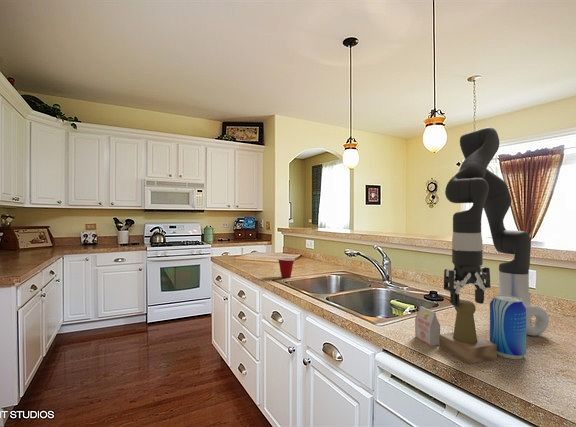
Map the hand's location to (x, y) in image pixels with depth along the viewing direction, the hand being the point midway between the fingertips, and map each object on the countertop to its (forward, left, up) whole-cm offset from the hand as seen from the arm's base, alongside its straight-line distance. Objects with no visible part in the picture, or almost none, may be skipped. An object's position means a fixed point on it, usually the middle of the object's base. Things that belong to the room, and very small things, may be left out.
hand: (467, 304), depth 86 cm
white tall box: (+5, -10, -14) cm, 18 cm away
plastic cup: (+24, -111, -14) cm, 115 cm away
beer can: (-11, +3, -14) cm, 18 cm away
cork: (+1, 0, -10) cm, 10 cm away
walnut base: (0, 0, -14) cm, 14 cm away
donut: (-31, -4, -14) cm, 34 cm away
